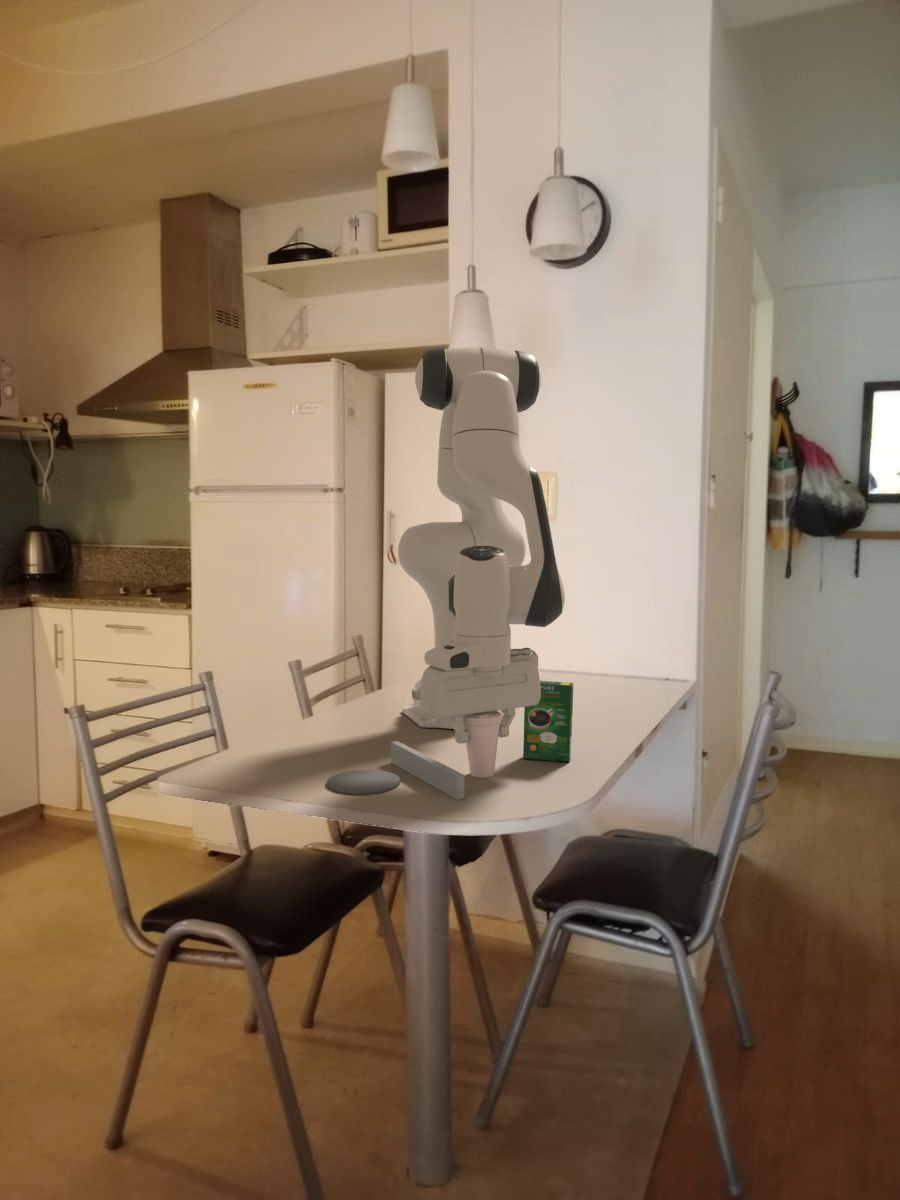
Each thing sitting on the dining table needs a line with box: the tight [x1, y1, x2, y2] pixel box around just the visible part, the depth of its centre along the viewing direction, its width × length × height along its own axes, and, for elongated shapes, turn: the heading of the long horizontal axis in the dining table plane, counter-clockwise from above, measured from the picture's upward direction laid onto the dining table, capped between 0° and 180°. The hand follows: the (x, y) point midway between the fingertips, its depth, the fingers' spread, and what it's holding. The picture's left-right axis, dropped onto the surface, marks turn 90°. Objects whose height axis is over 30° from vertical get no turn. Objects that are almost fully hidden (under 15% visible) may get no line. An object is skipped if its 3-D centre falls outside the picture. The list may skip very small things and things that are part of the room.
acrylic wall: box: [390, 740, 465, 801], centre depth 138 cm, size 22×1×4 cm, turn 29°
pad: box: [326, 769, 401, 796], centre depth 137 cm, size 11×11×1 cm
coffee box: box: [522, 680, 574, 763], centre depth 149 cm, size 8×3×13 cm, turn 75°
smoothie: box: [462, 711, 502, 779], centre depth 140 cm, size 6×6×14 cm
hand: (482, 739), depth 141 cm, fingers closed on smoothie, 6 cm apart
